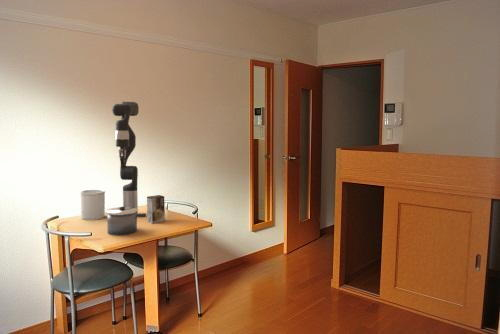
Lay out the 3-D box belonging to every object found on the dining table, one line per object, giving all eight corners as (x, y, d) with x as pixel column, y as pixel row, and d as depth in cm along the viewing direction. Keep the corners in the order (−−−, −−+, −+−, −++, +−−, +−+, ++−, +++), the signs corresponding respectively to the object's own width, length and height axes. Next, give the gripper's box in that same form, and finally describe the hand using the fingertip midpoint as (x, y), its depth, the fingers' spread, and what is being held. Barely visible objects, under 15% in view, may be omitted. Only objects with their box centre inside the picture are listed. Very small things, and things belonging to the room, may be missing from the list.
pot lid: (107, 209, 228) (107, 204, 228) (138, 208, 232) (138, 203, 232) (104, 215, 211) (104, 210, 211) (137, 214, 215) (137, 209, 215)
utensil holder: (108, 218, 252) (107, 191, 250) (83, 221, 244) (82, 193, 242) (102, 213, 264) (101, 188, 262) (78, 216, 256) (78, 190, 254)
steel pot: (108, 228, 228) (108, 209, 227) (146, 226, 234) (145, 208, 232) (106, 236, 213) (105, 216, 212) (146, 234, 218) (146, 214, 217)
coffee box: (159, 219, 252) (159, 194, 250) (165, 221, 248) (164, 196, 246) (146, 221, 246) (146, 196, 244) (152, 223, 241) (152, 197, 239)
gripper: (116, 137, 234) (116, 166, 236) (114, 138, 221) (115, 169, 223) (129, 138, 236) (129, 166, 238) (128, 138, 223) (128, 169, 225)
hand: (122, 167), depth 230 cm, fingers closed
